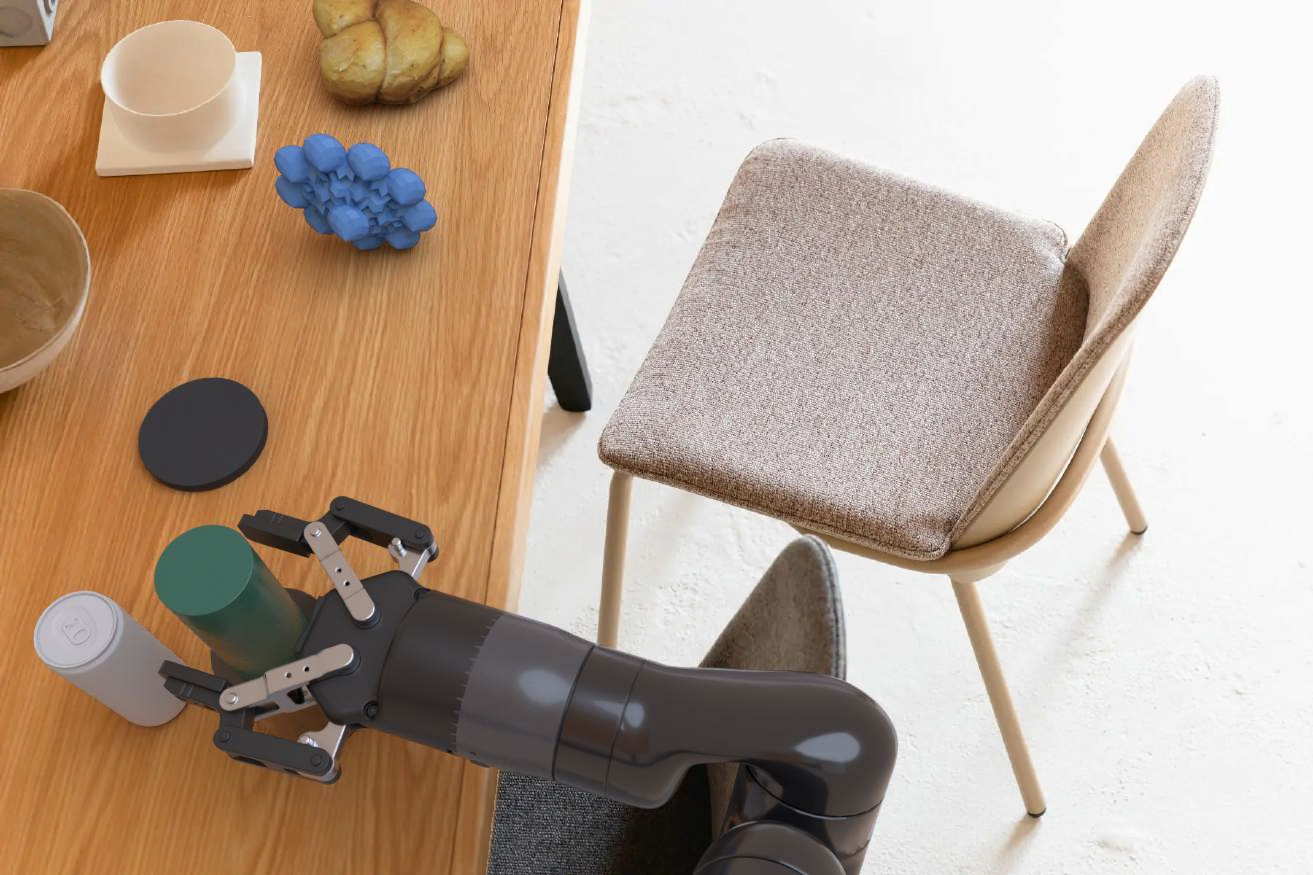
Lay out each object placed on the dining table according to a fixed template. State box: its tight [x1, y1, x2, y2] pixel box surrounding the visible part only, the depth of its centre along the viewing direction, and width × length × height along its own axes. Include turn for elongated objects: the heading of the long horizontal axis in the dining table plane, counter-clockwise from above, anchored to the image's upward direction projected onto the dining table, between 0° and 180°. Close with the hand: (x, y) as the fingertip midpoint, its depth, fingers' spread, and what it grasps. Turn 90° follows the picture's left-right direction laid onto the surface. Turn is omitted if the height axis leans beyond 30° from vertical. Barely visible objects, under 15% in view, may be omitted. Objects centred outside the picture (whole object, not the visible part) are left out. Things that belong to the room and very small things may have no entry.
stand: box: [210, 587, 357, 742], centre depth 71 cm, size 7×7×10 cm
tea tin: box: [153, 524, 310, 681], centre depth 62 cm, size 5×5×11 cm
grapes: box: [273, 132, 438, 251], centre depth 88 cm, size 12×7×12 cm, turn 86°
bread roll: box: [311, 0, 470, 106], centre depth 99 cm, size 13×10×8 cm
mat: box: [137, 377, 269, 493], centre depth 84 cm, size 9×9×1 cm
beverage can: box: [32, 590, 188, 728], centre depth 70 cm, size 5×5×12 cm
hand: (206, 596), depth 62 cm, fingers open, 8 cm apart
